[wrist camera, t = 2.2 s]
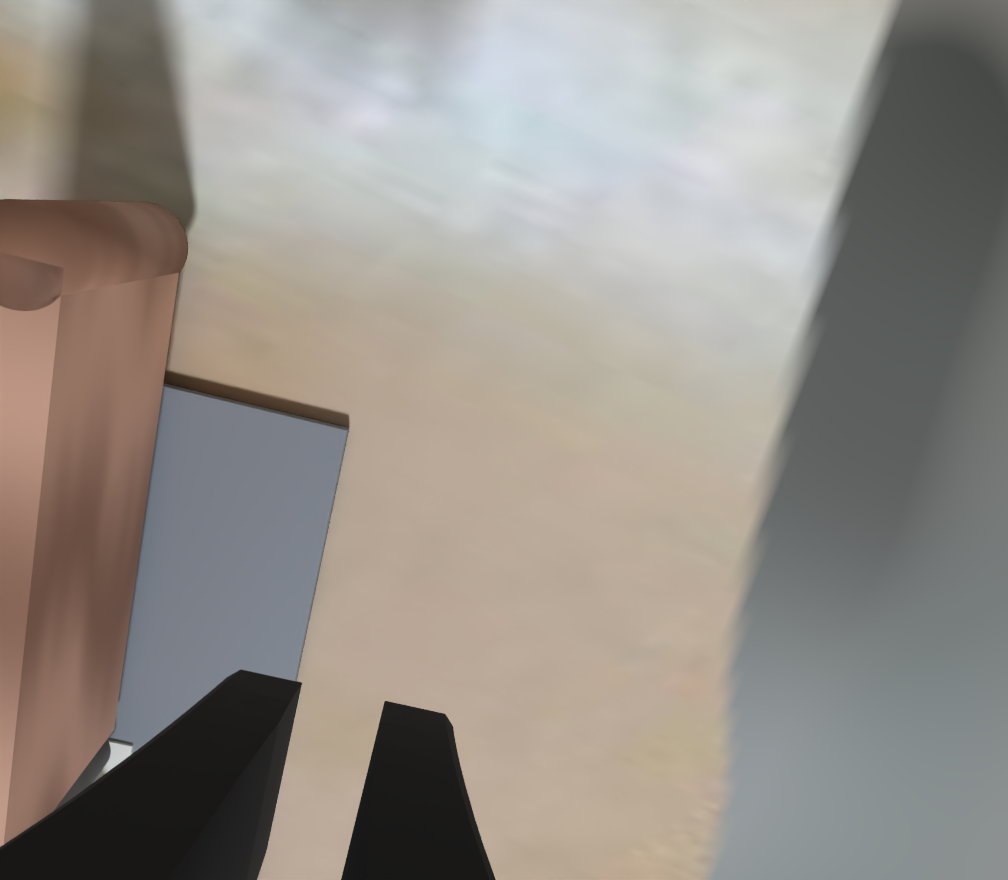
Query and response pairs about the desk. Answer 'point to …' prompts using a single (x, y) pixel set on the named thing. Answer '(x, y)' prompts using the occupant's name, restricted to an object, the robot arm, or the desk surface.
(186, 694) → the card
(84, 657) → the wooden block
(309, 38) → the desk surface
